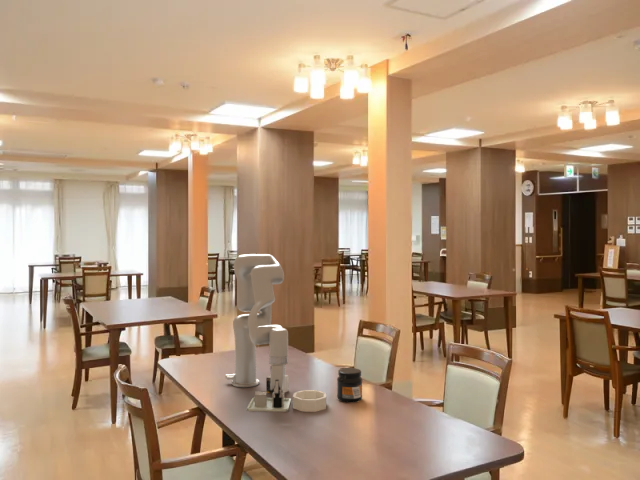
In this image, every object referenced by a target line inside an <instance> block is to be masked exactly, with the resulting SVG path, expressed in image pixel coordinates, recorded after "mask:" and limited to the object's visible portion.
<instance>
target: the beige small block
mask: <svg viewBox="0 0 640 480" xmlns="http://www.w3.org/2000/svg"><path fill="white" fill-rule="evenodd" d="M254 398H255V407H266V405H267V398H268V393H267V392H266V391H255V393H254Z"/></svg>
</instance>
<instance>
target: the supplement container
mask: <svg viewBox="0 0 640 480" xmlns="http://www.w3.org/2000/svg"><path fill="white" fill-rule="evenodd" d="M337 372H338V373H337V375H338V376H337V378H336V382H337V383H336V386H337V388H336V389H337V390H336V391H337V392H336V394H337V395H336V398H337V399H338V400H339V401H340V402H342V403H357V402H360V401H361V400H362V399H363V378H362V370H361V369H359V368H357V367H356V368H355V367H344V368H340V369H339V370H337Z"/></svg>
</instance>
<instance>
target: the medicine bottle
mask: <svg viewBox="0 0 640 480" xmlns="http://www.w3.org/2000/svg"><path fill="white" fill-rule="evenodd" d="M289 379H290V378H289V375H288V374H285V383H284V387H283V392H284V394H285V393H287V392H289V385H290V384H289ZM265 383H266V386H265V387H266V388H265V389H266V391H265V392H267V394H271V395H272V394H273V392H274V388H273V389H272V390H271V389H270V383H271V374H270V375H267V376H266V381H265Z"/></svg>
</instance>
